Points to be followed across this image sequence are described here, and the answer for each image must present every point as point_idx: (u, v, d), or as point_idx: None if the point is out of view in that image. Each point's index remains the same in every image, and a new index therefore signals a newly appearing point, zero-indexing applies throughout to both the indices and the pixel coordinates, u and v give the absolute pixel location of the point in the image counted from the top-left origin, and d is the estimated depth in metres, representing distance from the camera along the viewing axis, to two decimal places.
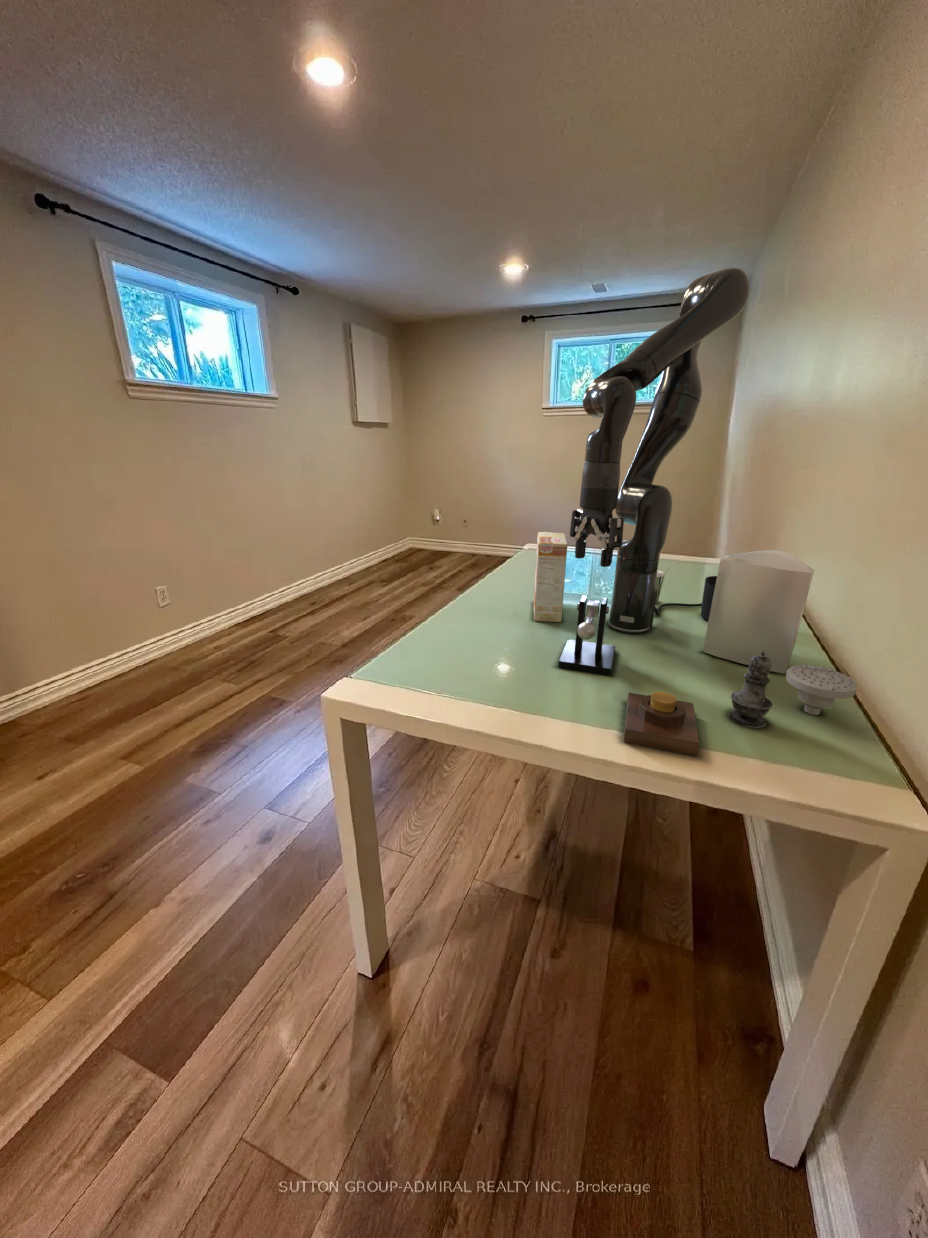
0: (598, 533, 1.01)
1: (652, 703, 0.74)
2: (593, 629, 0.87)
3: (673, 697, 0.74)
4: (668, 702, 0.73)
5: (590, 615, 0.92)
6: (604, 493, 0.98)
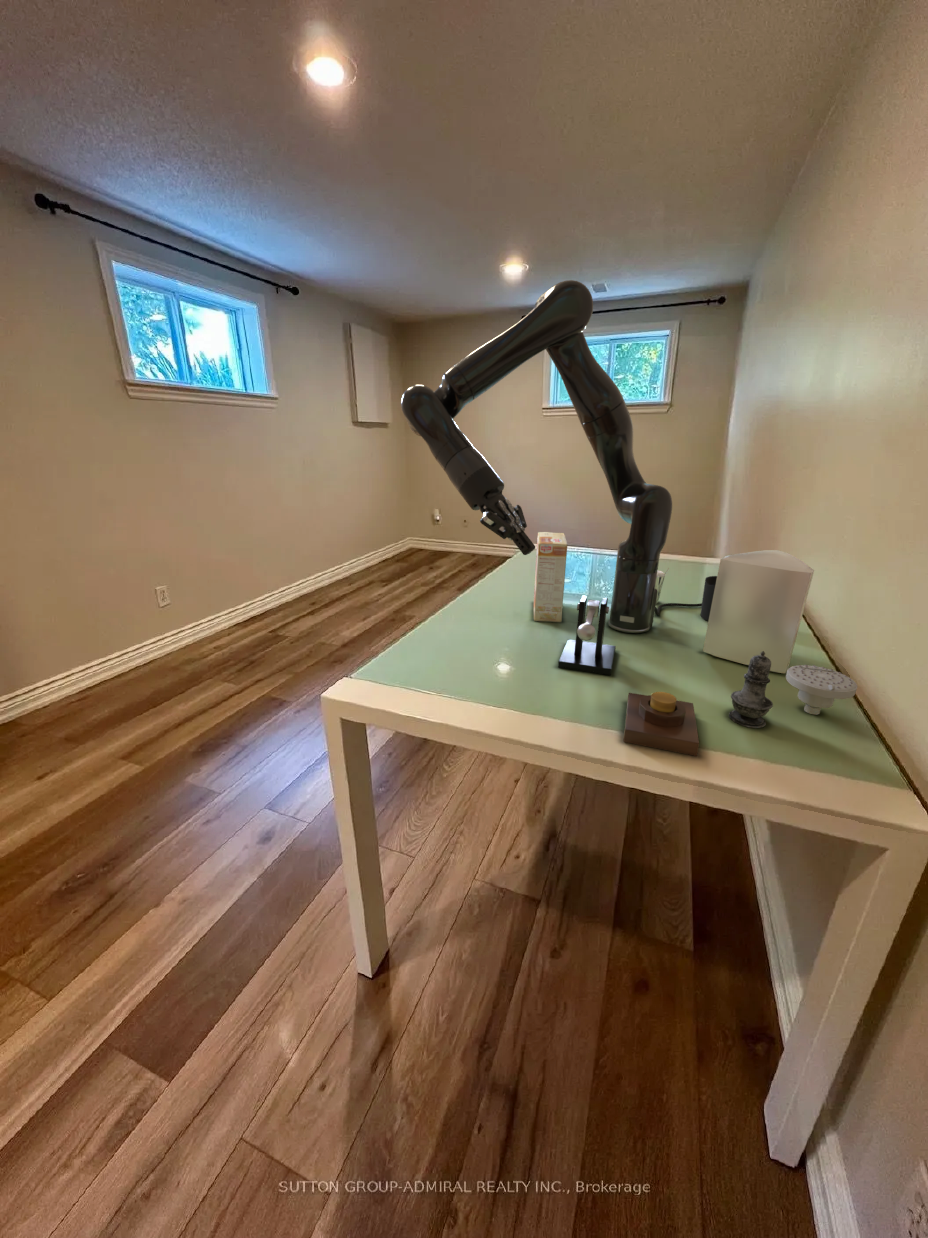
0: None
1: (652, 703, 0.74)
2: (593, 630, 0.87)
3: (673, 697, 0.74)
4: (668, 702, 0.73)
5: (590, 616, 0.92)
6: (464, 491, 0.89)
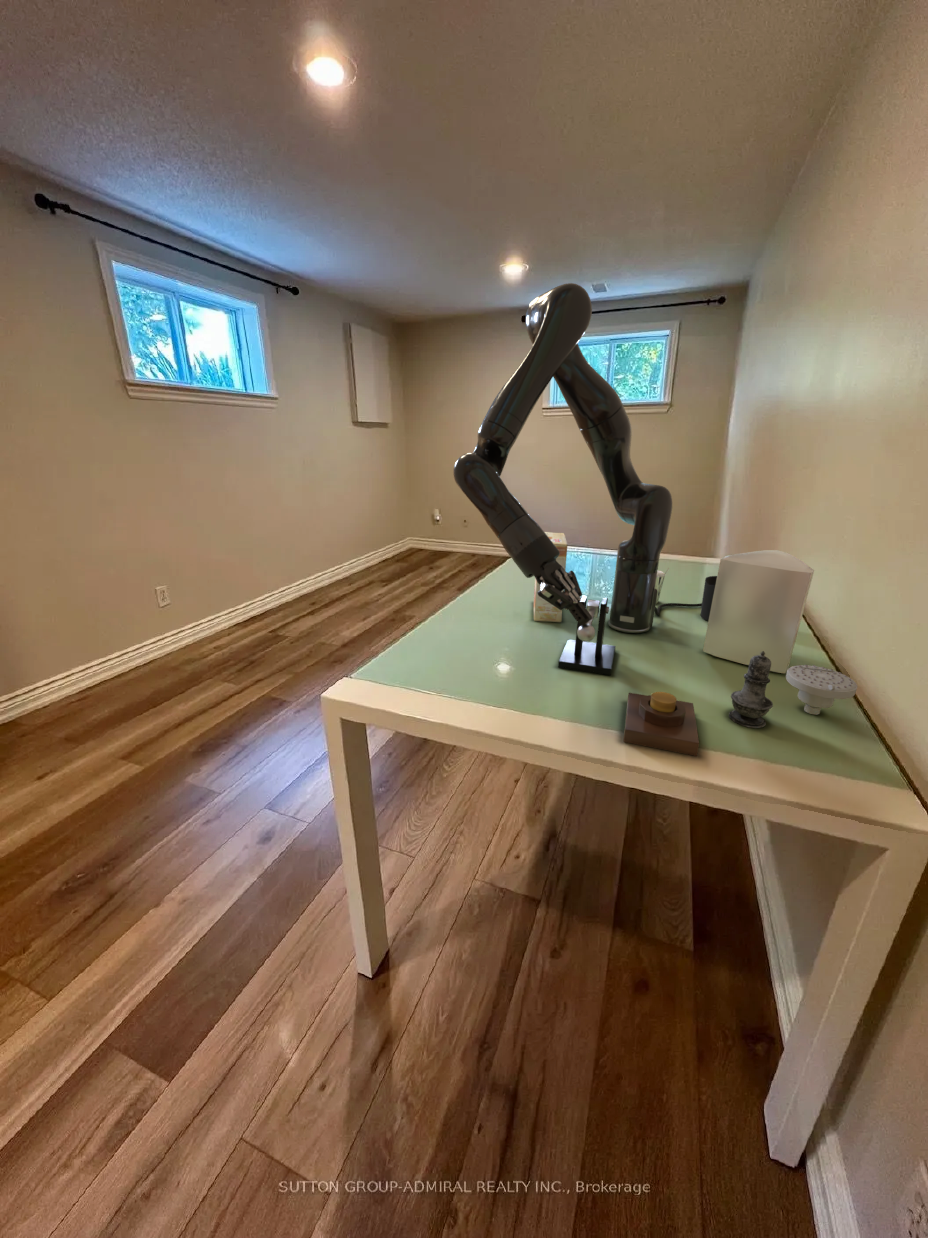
0: None
1: (652, 703, 0.74)
2: (593, 631, 0.87)
3: (673, 697, 0.74)
4: (668, 702, 0.73)
5: None
6: (519, 560, 0.87)
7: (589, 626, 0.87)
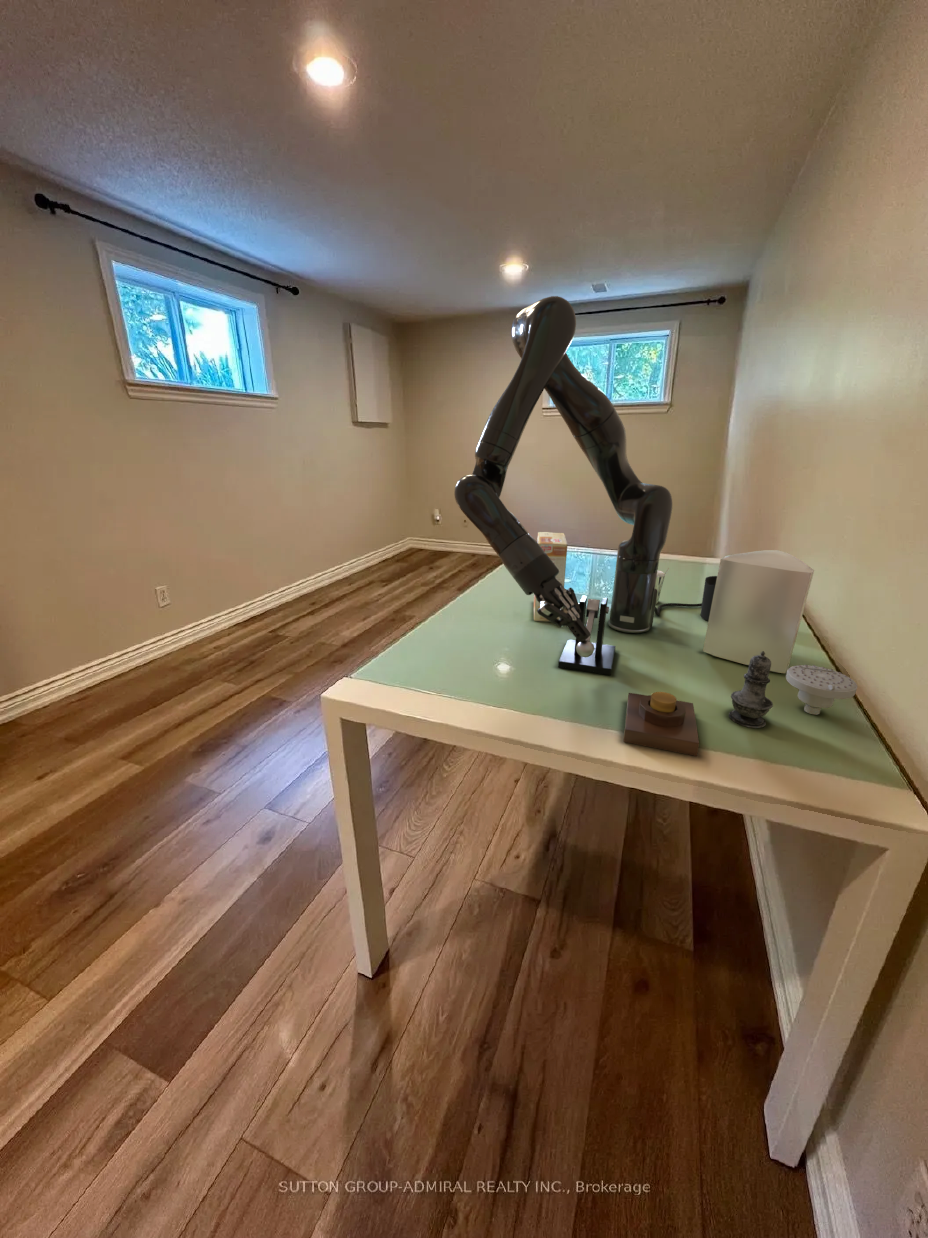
0: None
1: (652, 703, 0.74)
2: (591, 649, 0.89)
3: (673, 697, 0.74)
4: (668, 702, 0.73)
5: (589, 624, 0.93)
6: (519, 578, 0.89)
7: (587, 645, 0.89)
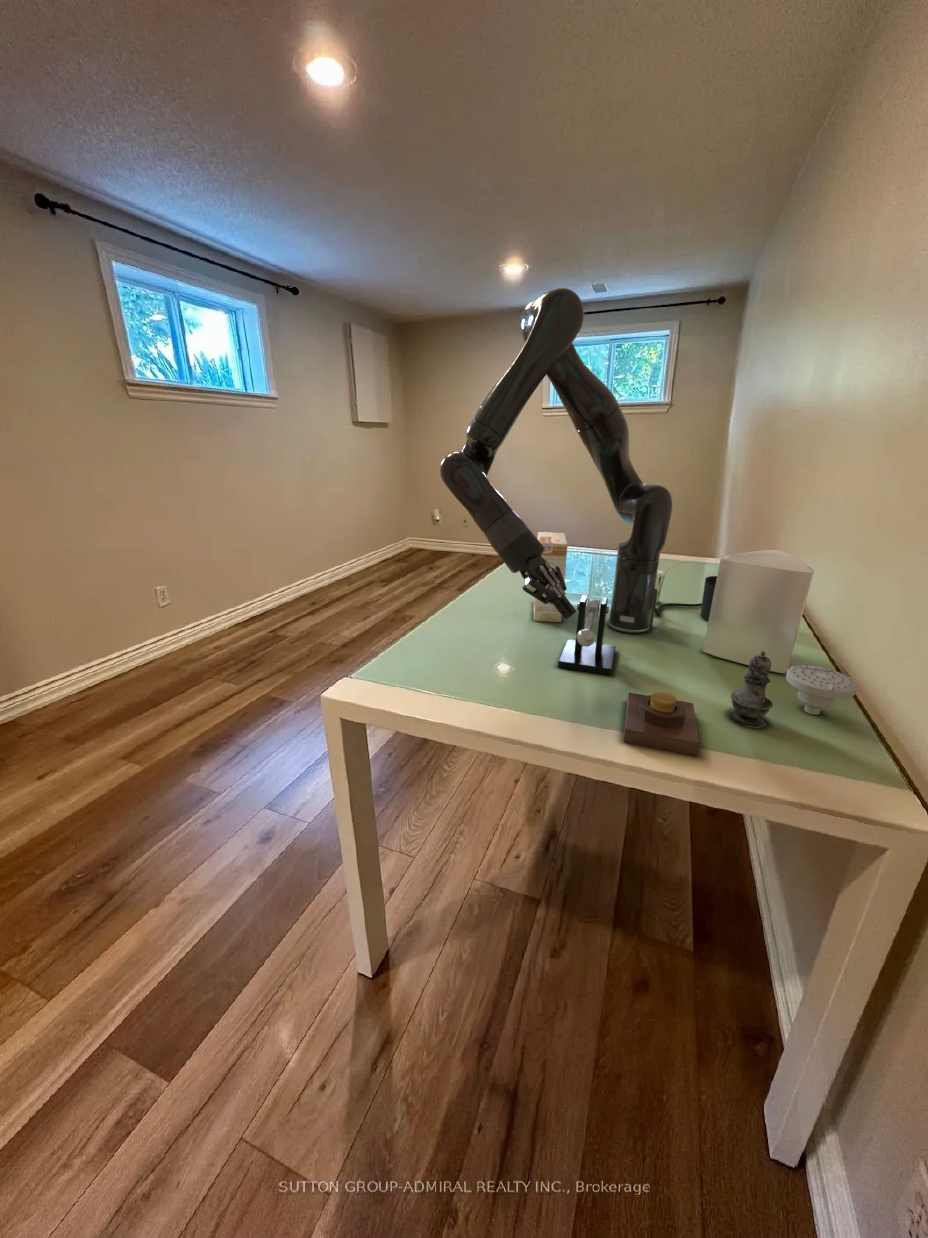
0: None
1: (652, 703, 0.74)
2: (592, 637, 0.87)
3: (673, 697, 0.74)
4: (668, 702, 0.73)
5: (590, 619, 0.92)
6: (504, 556, 0.89)
7: (588, 631, 0.87)
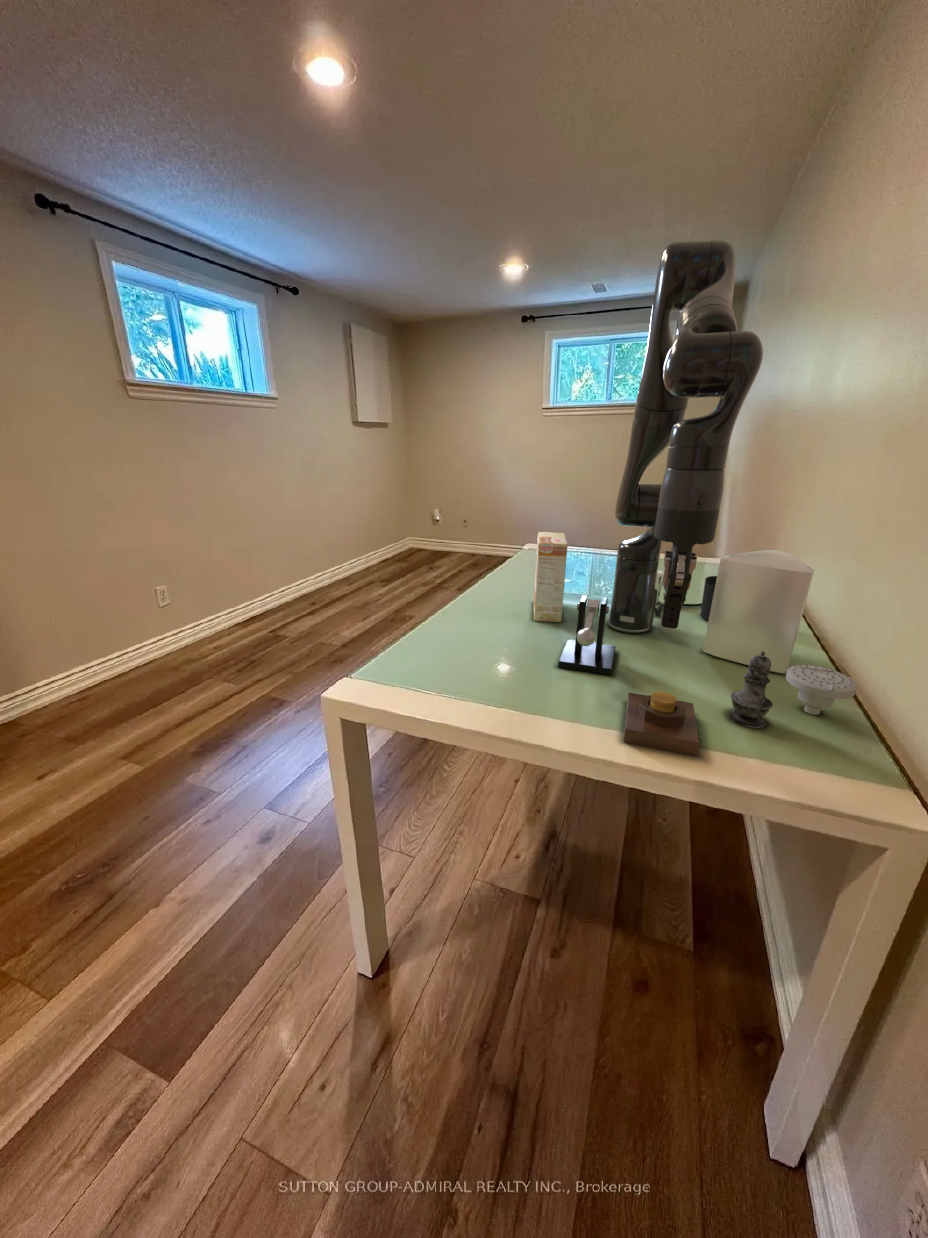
0: None
1: (652, 703, 0.74)
2: (592, 636, 0.87)
3: (673, 697, 0.74)
4: (668, 702, 0.73)
5: (590, 618, 0.92)
6: (675, 518, 0.63)
7: (588, 631, 0.87)
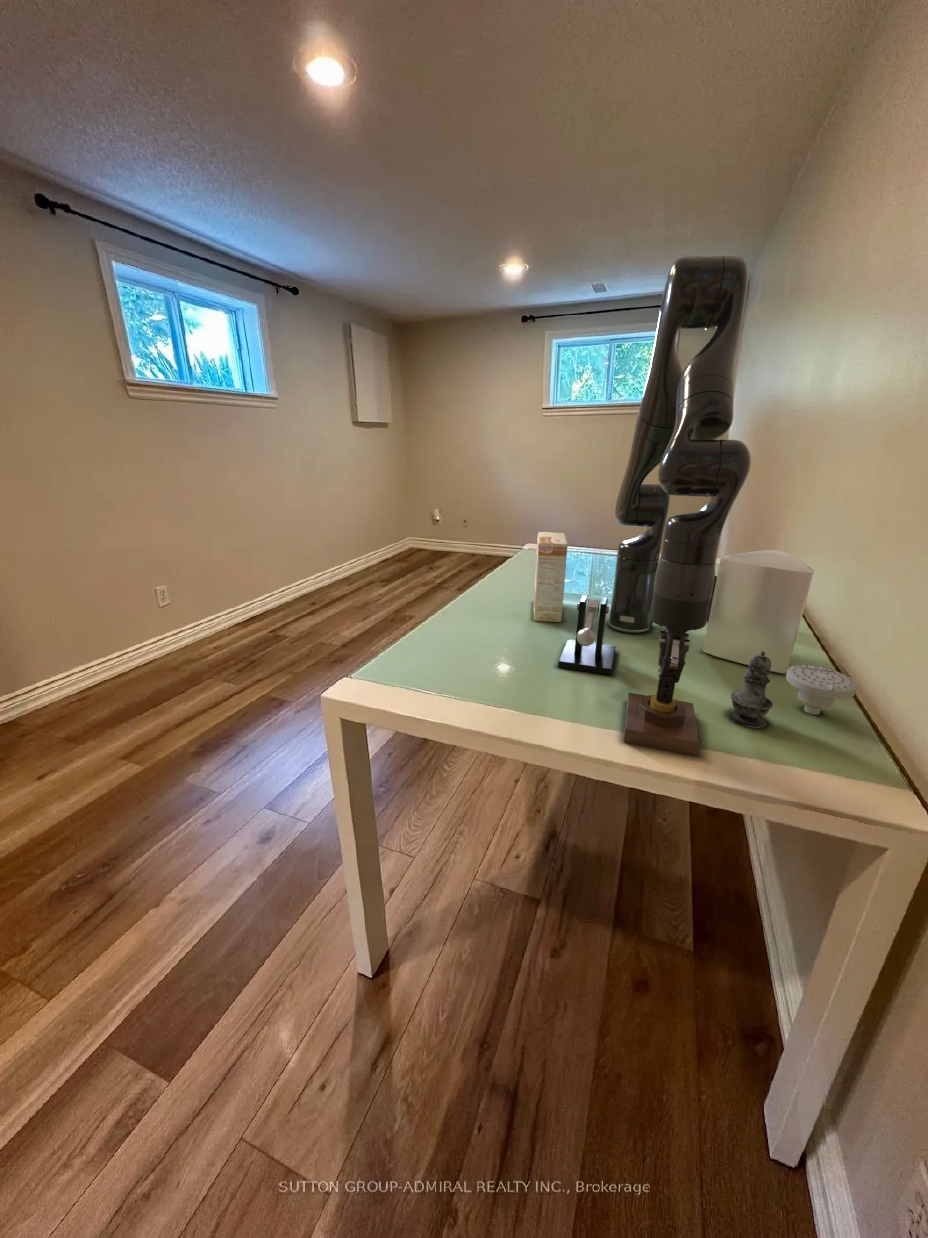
0: None
1: (652, 706, 0.74)
2: (592, 636, 0.87)
3: (673, 699, 0.75)
4: (668, 705, 0.73)
5: (590, 618, 0.92)
6: (669, 606, 0.67)
7: (588, 631, 0.87)
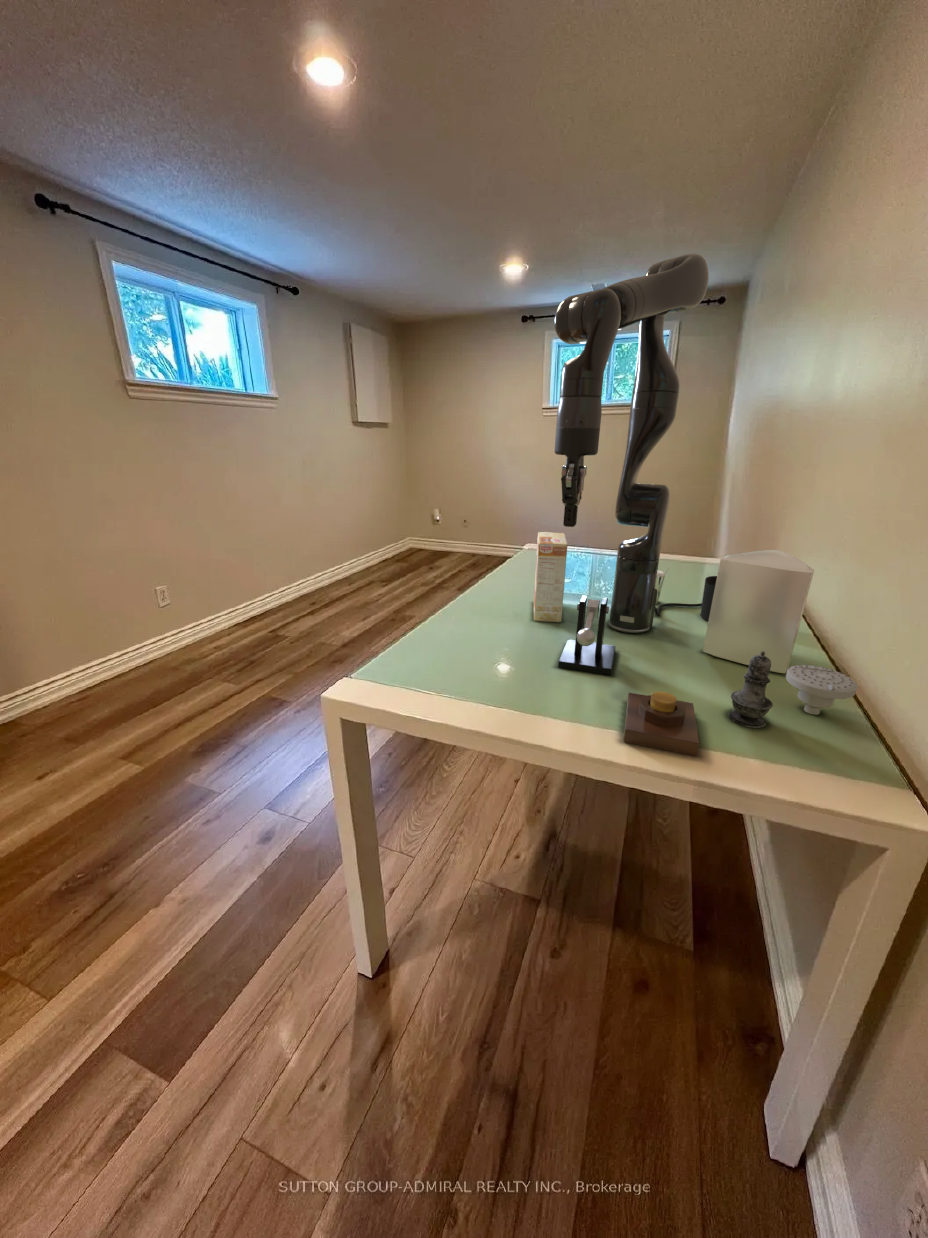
0: None
1: (652, 703, 0.74)
2: (592, 636, 0.87)
3: (673, 697, 0.74)
4: (668, 702, 0.73)
5: (590, 618, 0.92)
6: (565, 434, 0.83)
7: (588, 631, 0.87)
